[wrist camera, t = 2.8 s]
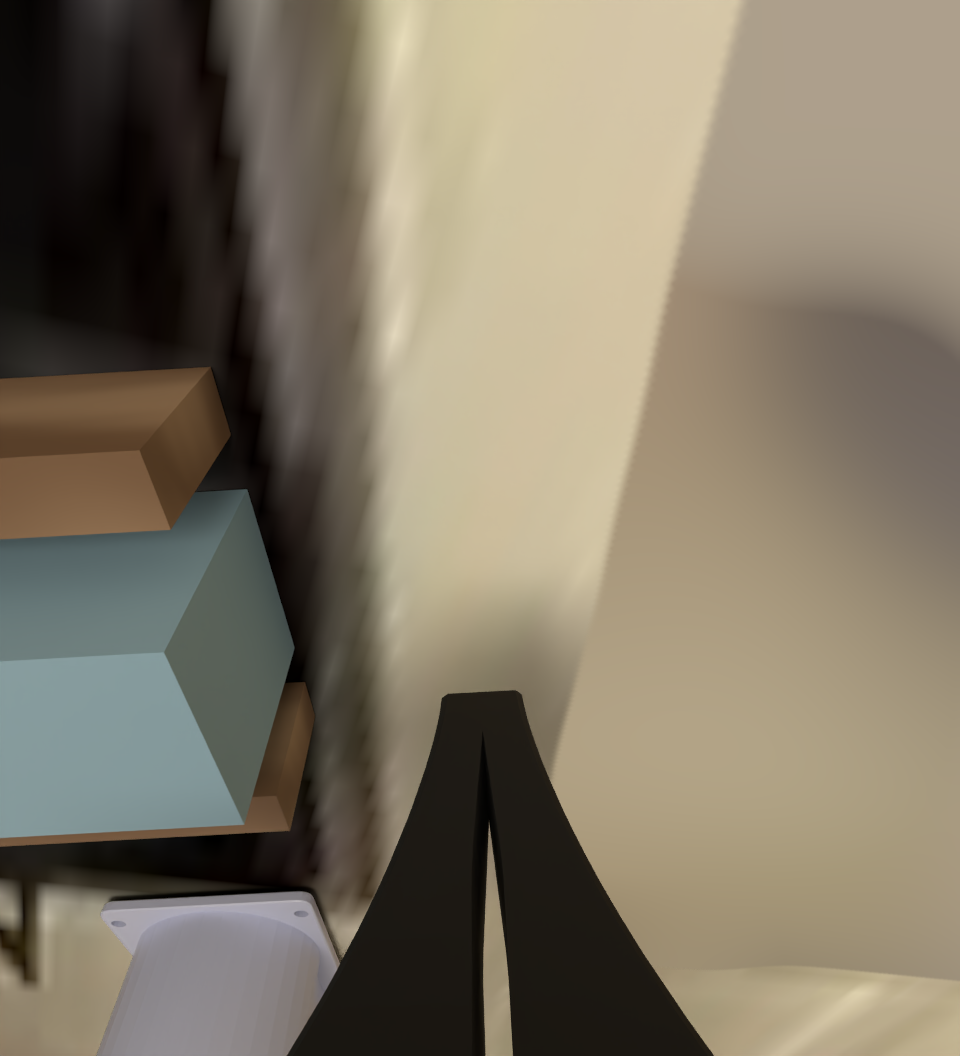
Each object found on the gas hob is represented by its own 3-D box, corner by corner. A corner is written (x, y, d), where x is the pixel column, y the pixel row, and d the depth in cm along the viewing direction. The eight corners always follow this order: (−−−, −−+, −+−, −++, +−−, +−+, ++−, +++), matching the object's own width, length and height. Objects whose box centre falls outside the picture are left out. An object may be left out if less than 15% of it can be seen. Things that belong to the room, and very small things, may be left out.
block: (294, 648, 17) (243, 824, 13) (-2, 664, 17) (-145, 845, 13) (247, 489, 14) (163, 652, 10) (-108, 509, 14) (-333, 679, 10)
